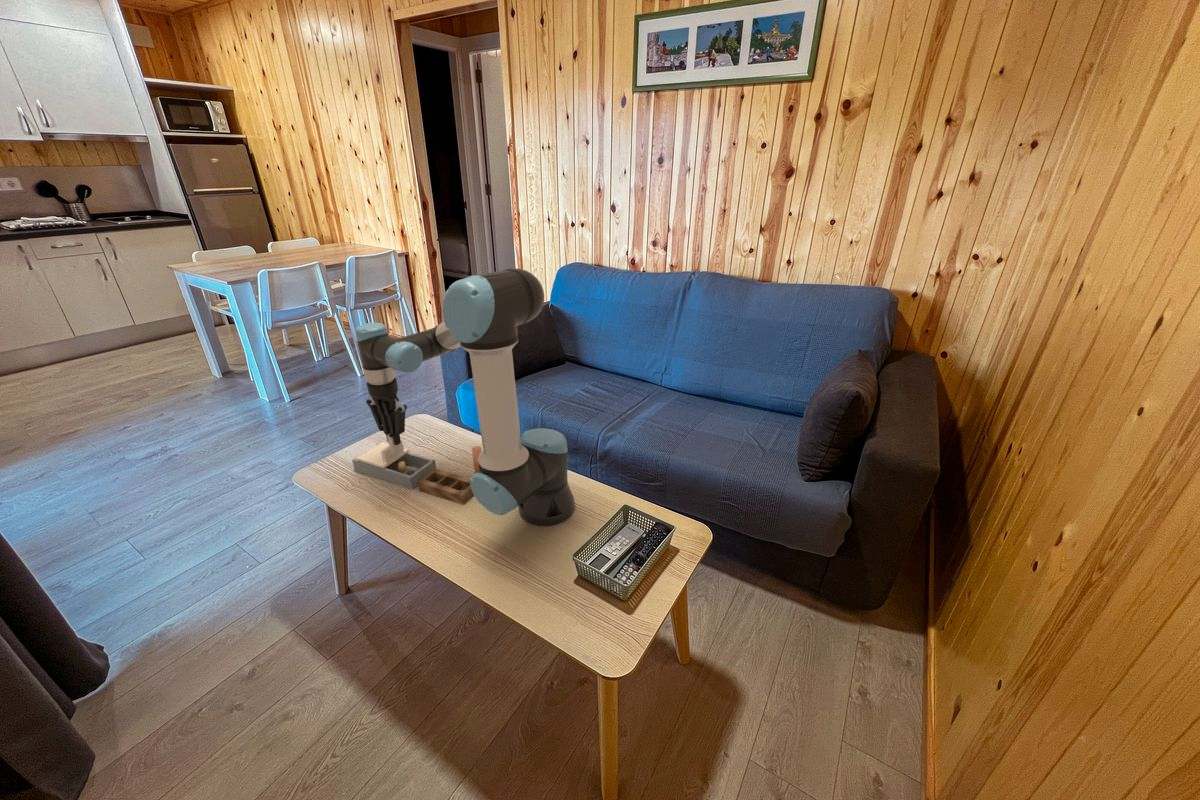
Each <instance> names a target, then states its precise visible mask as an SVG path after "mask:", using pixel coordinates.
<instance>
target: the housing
mask: <svg viewBox="0 0 1200 800" xmlns="http://www.w3.org/2000/svg"><path fill="white" fill-rule="evenodd" d="M379 444H380V443H376V445H375V447H376V446H377V445H379ZM351 460H352V461H351V462H352V465H353V469H354V471H355V472H358V473H361V474H364V475H367V476H370V477H374V478H377V479H379V480H383V481H385V482H388V483H392V484H396V485H398V486H401V487H404V488H406V489H407V488H408V489H410V490H414V489H415V488H417V487H419V486H418V481H419V480H421V479H422V478H423V477H425V476H426V475H427V474H429V473H430V472H431V471H433V470H434V469H437V466H436V459H432V458H429V457H425V456H422V455H419V454H416V453H411V452H410V451H409V452H408V453H406V454H405V455H403V456H402V457H400V458H399V459H397V460H396V461H395V462H398V463H397V468H398V469H397V470H393V469H390V468H386V467H385V468H384V469H383V468H380V467H376V466H373V465H370V464H367V463H364V462H360V461H357V458H355V457H353V458H352V459H351ZM406 465H409V466H413V467H415V468H418V469H413V468H410V467H407V466H406Z"/></svg>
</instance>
